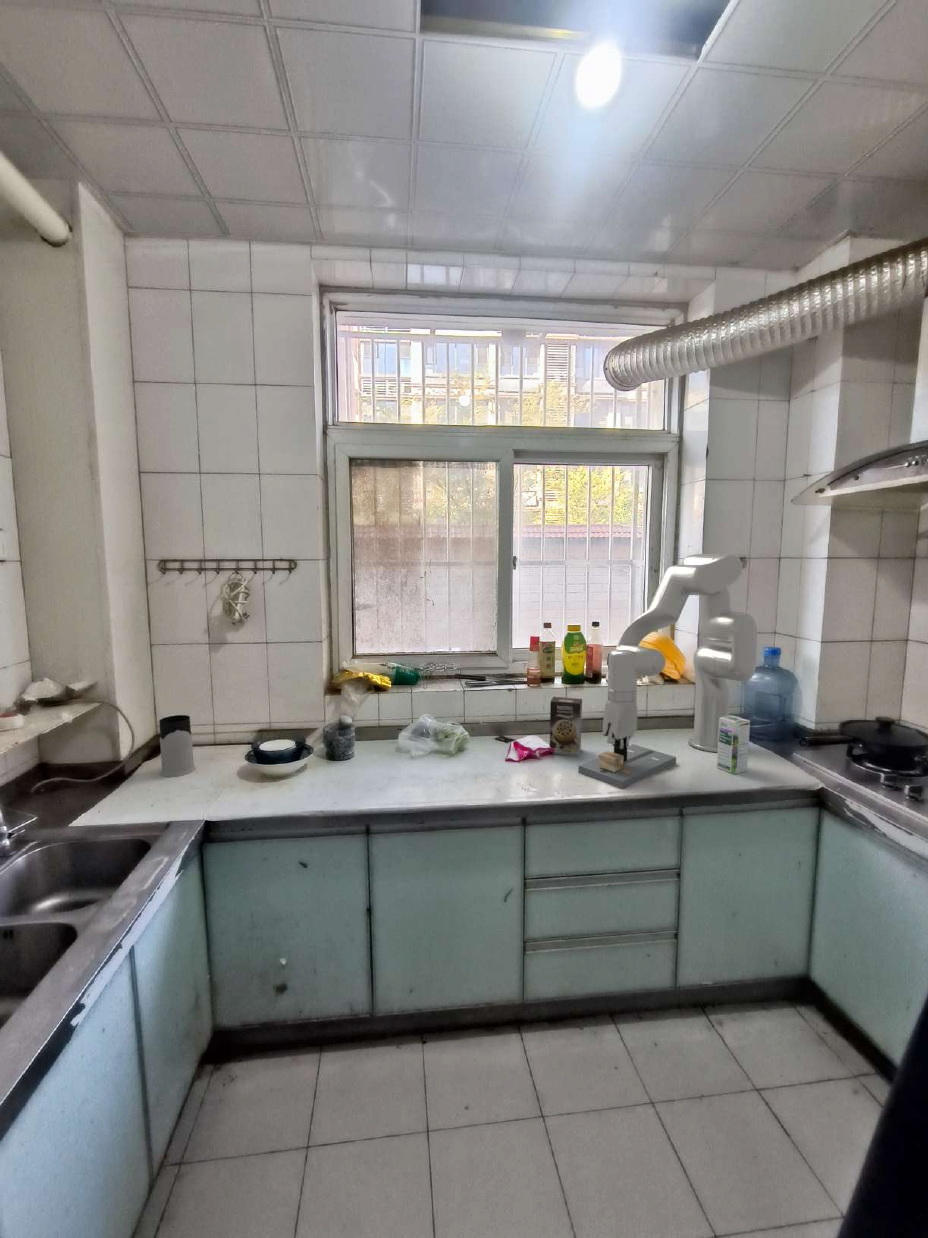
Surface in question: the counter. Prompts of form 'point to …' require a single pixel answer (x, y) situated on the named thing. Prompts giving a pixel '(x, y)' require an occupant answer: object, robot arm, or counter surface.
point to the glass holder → (176, 746)
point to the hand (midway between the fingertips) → (620, 760)
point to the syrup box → (733, 744)
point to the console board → (630, 767)
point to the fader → (611, 761)
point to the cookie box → (565, 725)
